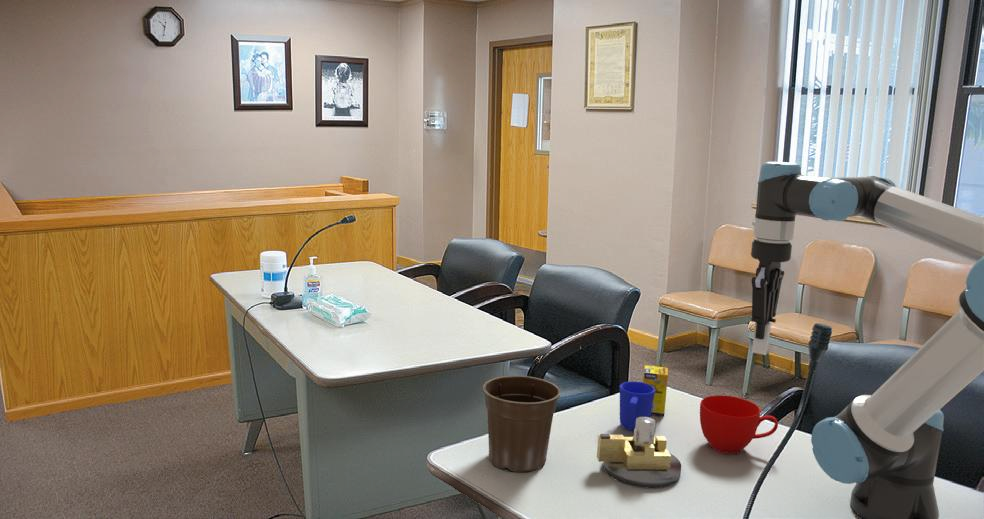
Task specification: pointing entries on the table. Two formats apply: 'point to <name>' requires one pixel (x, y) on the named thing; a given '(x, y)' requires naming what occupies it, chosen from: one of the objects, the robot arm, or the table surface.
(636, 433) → the round base with post
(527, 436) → the plant pot
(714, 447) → the ceramic cup
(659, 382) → the supplement box
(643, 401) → the mug
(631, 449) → the yellow stepped block
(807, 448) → the table surface
